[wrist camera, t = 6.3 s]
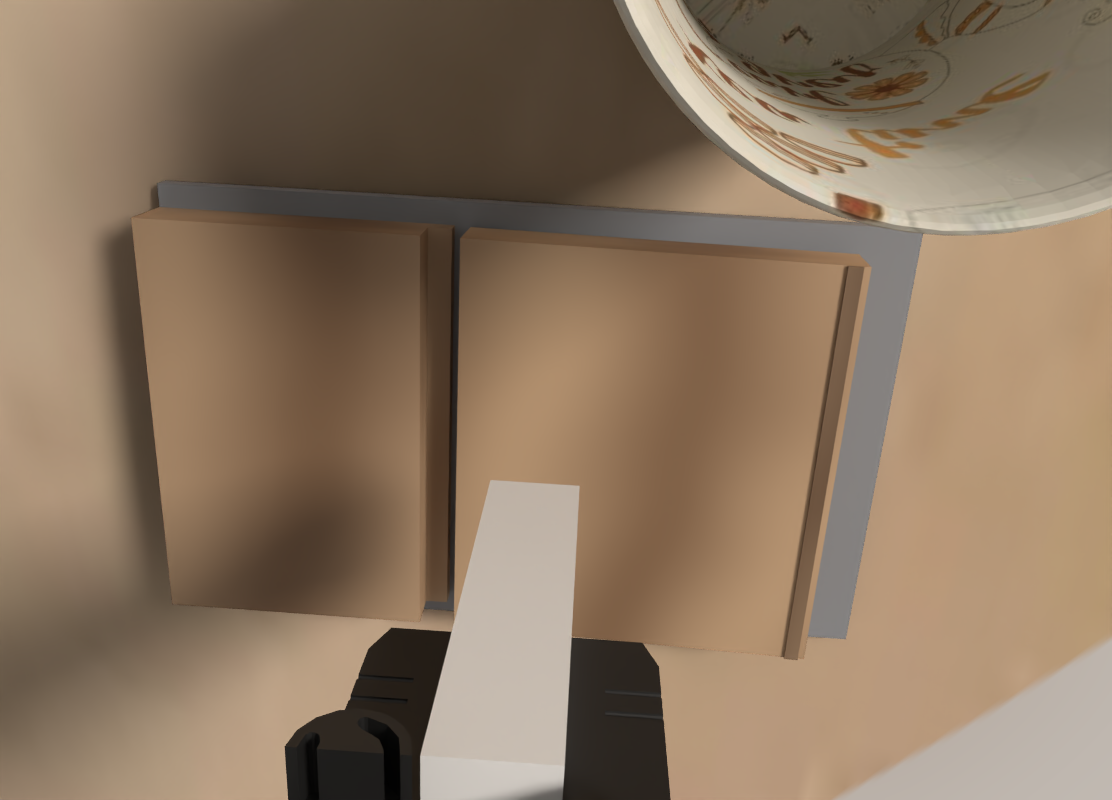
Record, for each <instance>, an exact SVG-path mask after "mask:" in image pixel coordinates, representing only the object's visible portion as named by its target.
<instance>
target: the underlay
mask: <svg viewBox="0 0 1112 800" xmlns="http://www.w3.org/2000/svg"><path fill="white" fill-rule="evenodd" d="M157 187H158V198H159V207H167V208H184V209H200V210H216V211H232V212H249V213H265V214H281V215H298V216H314V217H330V218H346V219H363V220H379V221H395V222H412V223H428V224H444V225H455V245H454V314H453V384H452V454H451V524H450V593H449V597H448V600H447V602H438V601H426V603H425V606H424V609H434V610H448V611H454V585H455V524H456V463H457V402H458V342H459V281H460V238H461V237H462V236H463V235H464V234H465V233H466V232H467V231H468V229H469V228H470V227H477V228H491V229H506V230H520V231H534V232H549V233H563V234H577V235H591V236H606V237H620V238H634V239H649V240H663V241H677V242H692V243H706V244H720V245H735V246H749V247H763V248H777V249H792V250H806V251H820V252H835V253H849V254H859V255H860V256H861V257H862V258H863V259H864V260H865V261H866V262H867V263H868V264H869V265H870V266H871V267H872V269H871V274H870V280H869V286H868V292H867V297H866V303H865V309H864V315H863V320H862V326H861V332H860V338H859V343H858V349H857V355H856V361H855V367H854V372H853V378H852V384H851V390H850V395H849V401H848V407H847V413H846V418H845V424H844V430H843V436H842V441H841V447H840V453H839V459H838V464H837V470H836V476H835V482H834V488H833V493H832V499H831V505H830V511H829V516H828V522H827V528H826V534H825V539H824V545H823V551H822V557H821V562H820V568H819V574H818V580H817V585H816V591H815V597H814V603H813V609H812V614H811V620H810V626H809V632H808V636H809V637H823V638H837V639H846V635H847V630H848V624H849V619H850V614H851V609H852V603H853V598H854V593H855V588H856V583H857V577H858V572H859V567H860V562H861V556H862V551H863V546H864V541H865V535H866V530H867V525H868V520H869V514H870V509H871V504H872V499H873V493H874V488H875V483H876V478H877V472H878V467H879V462H880V457H881V451H882V446H883V441H884V436H885V430H886V425H887V420H888V415H889V409H890V404H891V399H892V394H893V388H894V383H895V378H896V373H897V367H898V362H899V357H900V352H901V346H902V341H903V336H904V331H905V326H906V320H907V315H908V310H909V305H910V299H911V294H912V289H913V284H914V278H915V273H916V268H917V263H918V257H919V252H920V247H921V242H922V236H923V234H922V233H909V232H903V231H898V230H892V229H886V228H880V227H875V226H871V225H867V224H864V223H858V222H842V221H825V220H809V219H792V218H776V217H760V216H743V215H727V214H710V213H694V212H677V211H661V210H644V209H628V208H611V207H595V206H578V205H562V204H545V203H529V202H512V201H496V200H479V199H463V198H446V197H430V196H413V195H397V194H380V193H364V192H347V191H331V190H314V189H298V188H281V187H265V186H248V185H232V184H215V183H199V182H182V181H166V180H165V181H162V182H159V183H157Z"/></svg>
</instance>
